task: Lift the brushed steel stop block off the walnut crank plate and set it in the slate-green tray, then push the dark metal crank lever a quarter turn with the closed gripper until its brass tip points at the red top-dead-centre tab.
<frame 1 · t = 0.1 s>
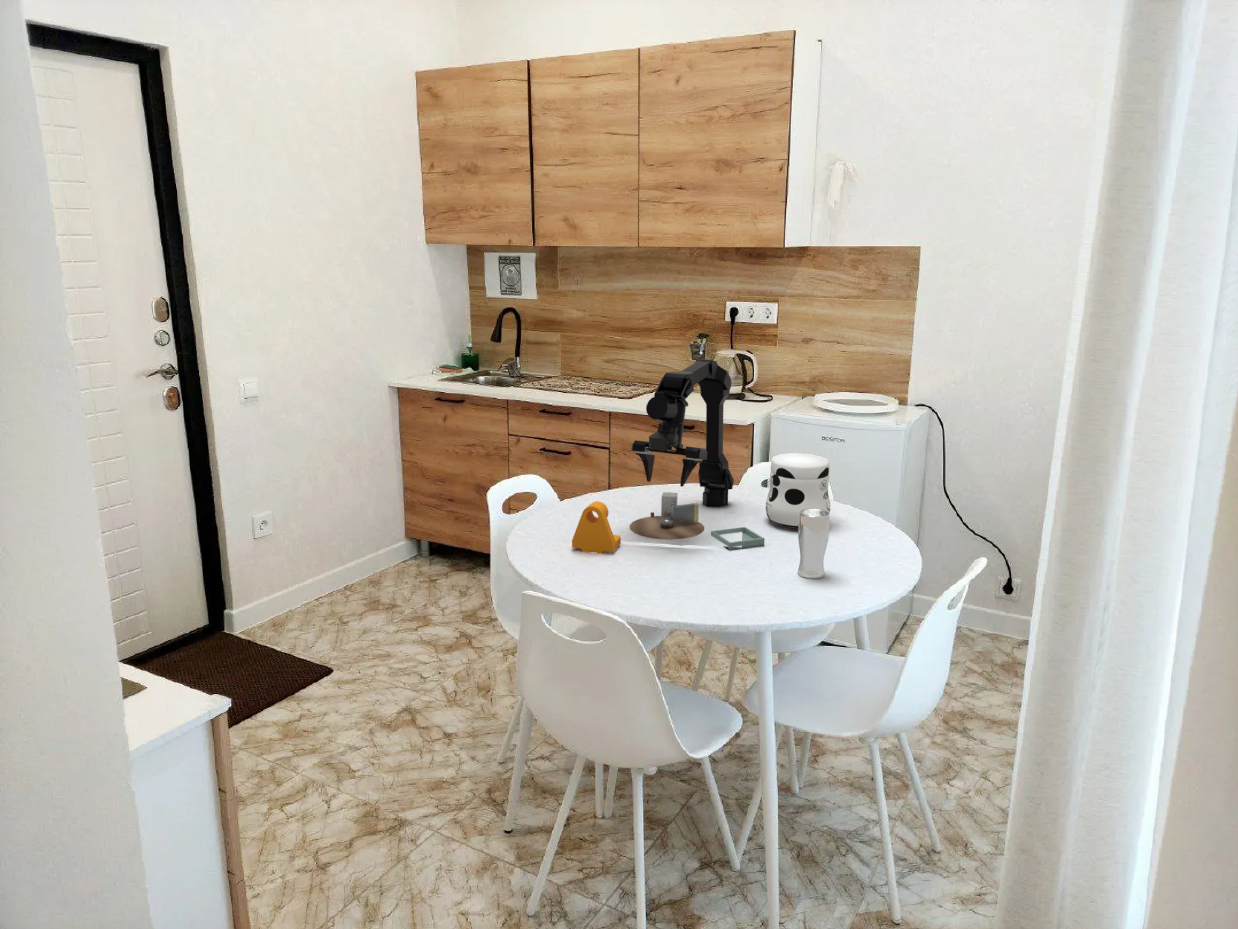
hand: (665, 484, 219), 15 cm above the table, tool pointing down, fingers open, 9 cm apart
bracket: (597, 548, 219), on the table
crank: (679, 514, 232), point 4 cm above the table, hinge at 0.0°
tray: (737, 542, 223), on the table
beer glass: (810, 575, 202), on the table
stop block: (669, 519, 239), point 1 cm above the table, touching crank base
milk container: (796, 523, 239), on the table
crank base: (666, 530, 232), on the table
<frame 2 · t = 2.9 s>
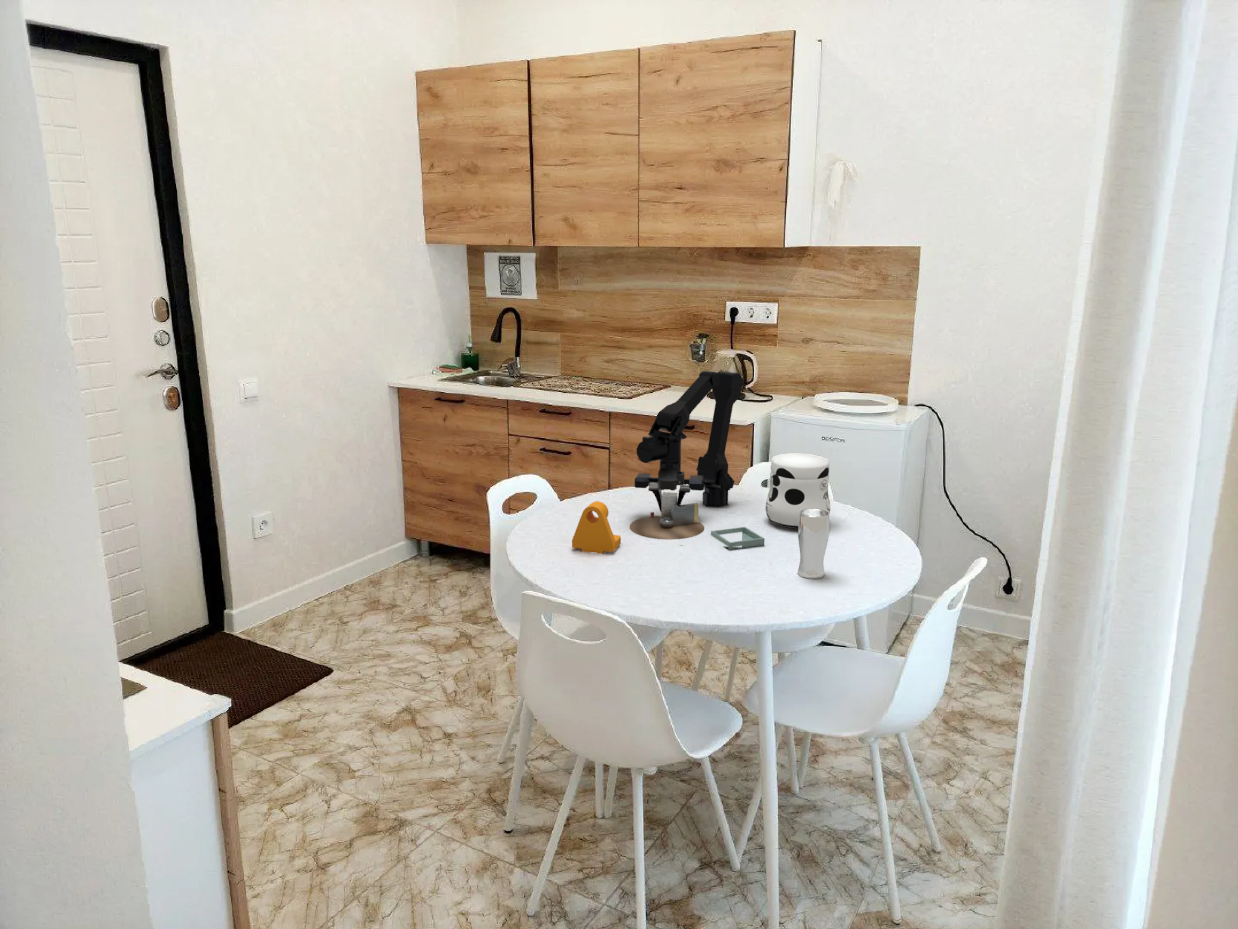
hand: (669, 512, 238), 3 cm above the table, tool pointing down, fingers closed on stop block, 4 cm apart
stop block: (669, 519, 239), point 1 cm above the table, touching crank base, gripper
everything else where it was.
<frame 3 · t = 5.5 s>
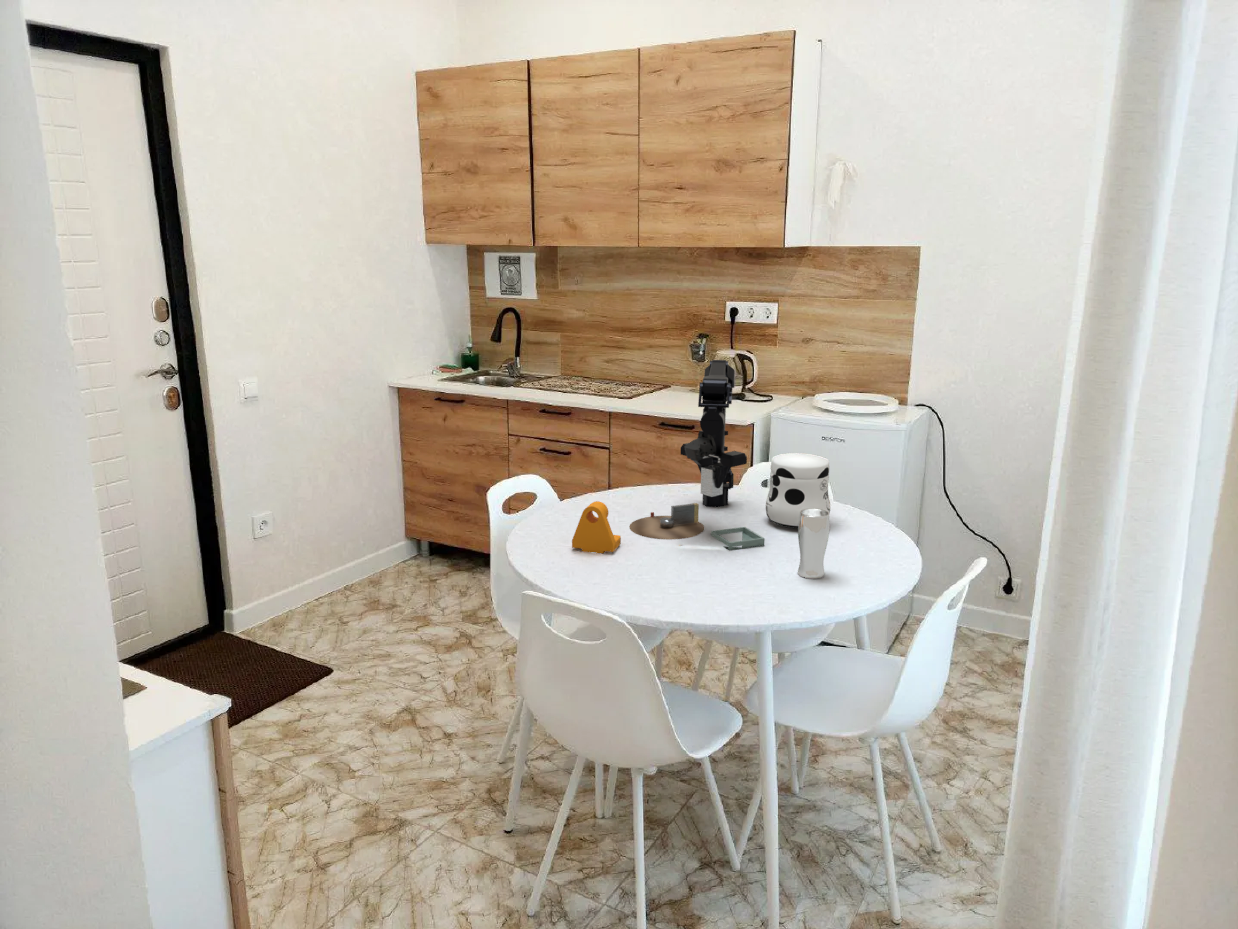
hand: (712, 486, 225), 13 cm above the table, tool pointing down, fingers closed on stop block, 4 cm apart
stop block: (711, 493, 226), point 11 cm above the table, touching gripper
everything else where it was.
when the fingers open (4 cm above the table, at t = 8.3 s): stop block drops 1 cm, resting on tray.
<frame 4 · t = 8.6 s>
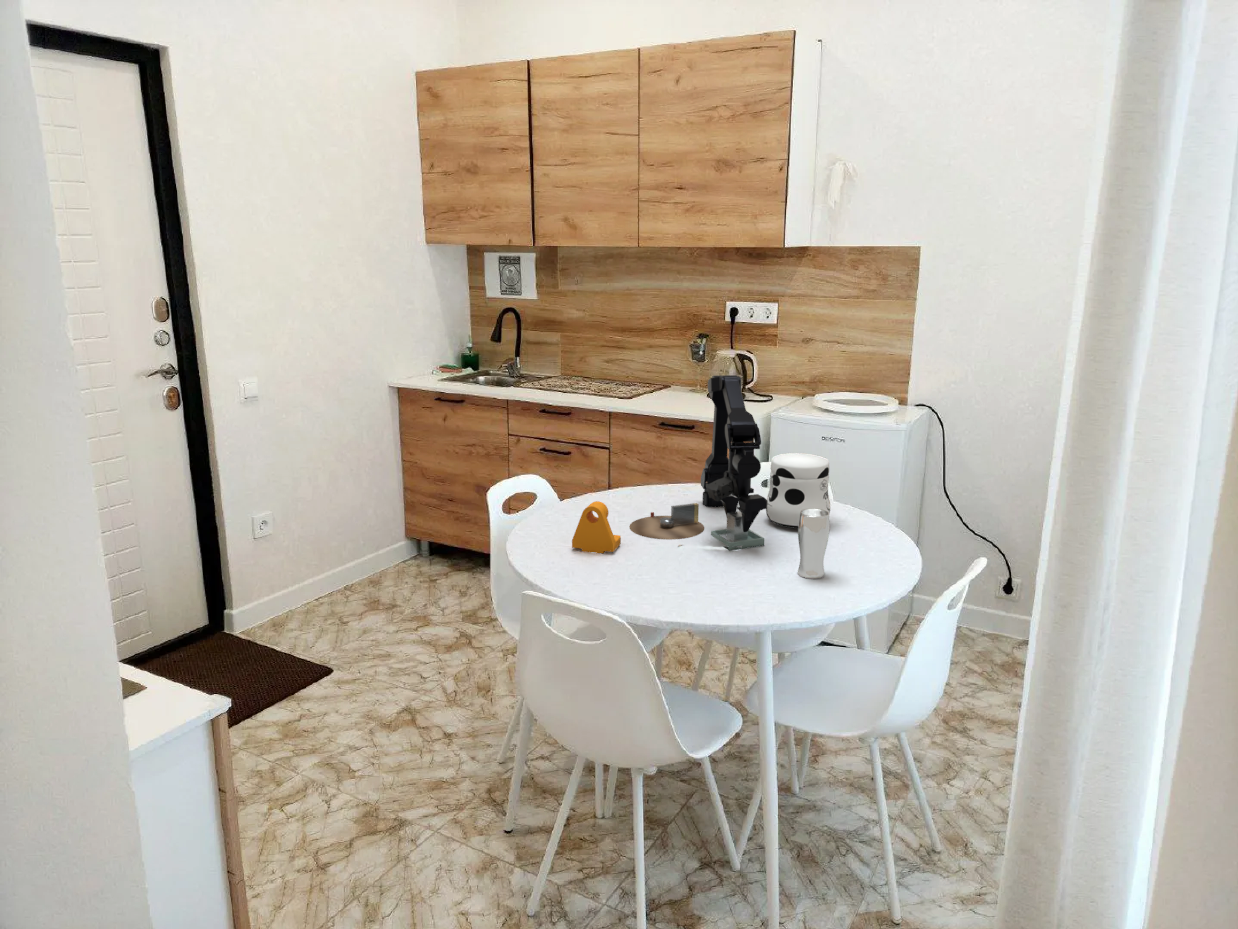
hand: (737, 527, 222), 4 cm above the table, tool pointing down, fingers open, 8 cm apart
stop block: (736, 540, 223), resting on tray
everything else where it was.
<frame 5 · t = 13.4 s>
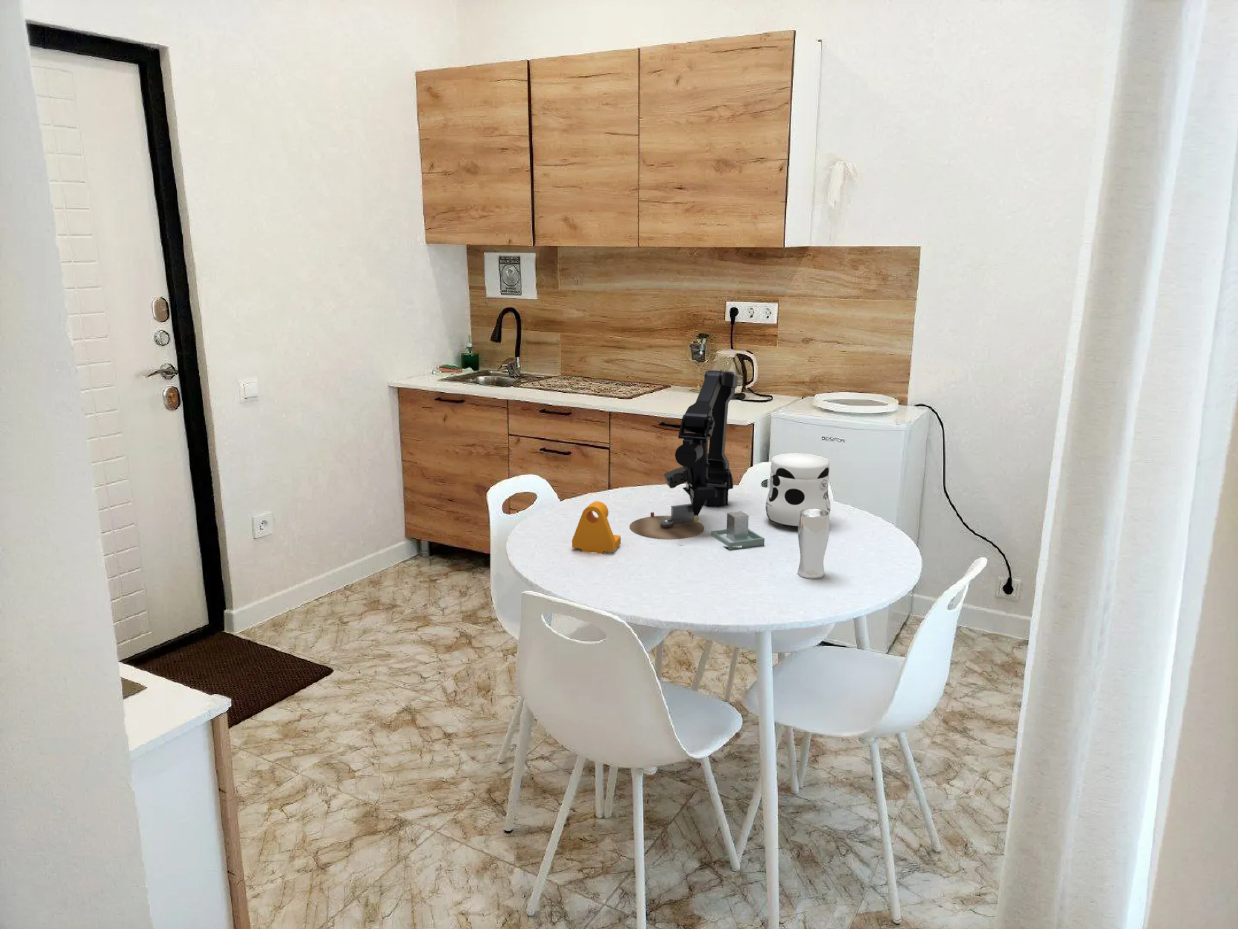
hand: (696, 515, 232), 4 cm above the table, tool pointing down, fingers closed
crank: (679, 514, 232), point 4 cm above the table, hinge at 0.7°, touching gripper
everything else where it was.
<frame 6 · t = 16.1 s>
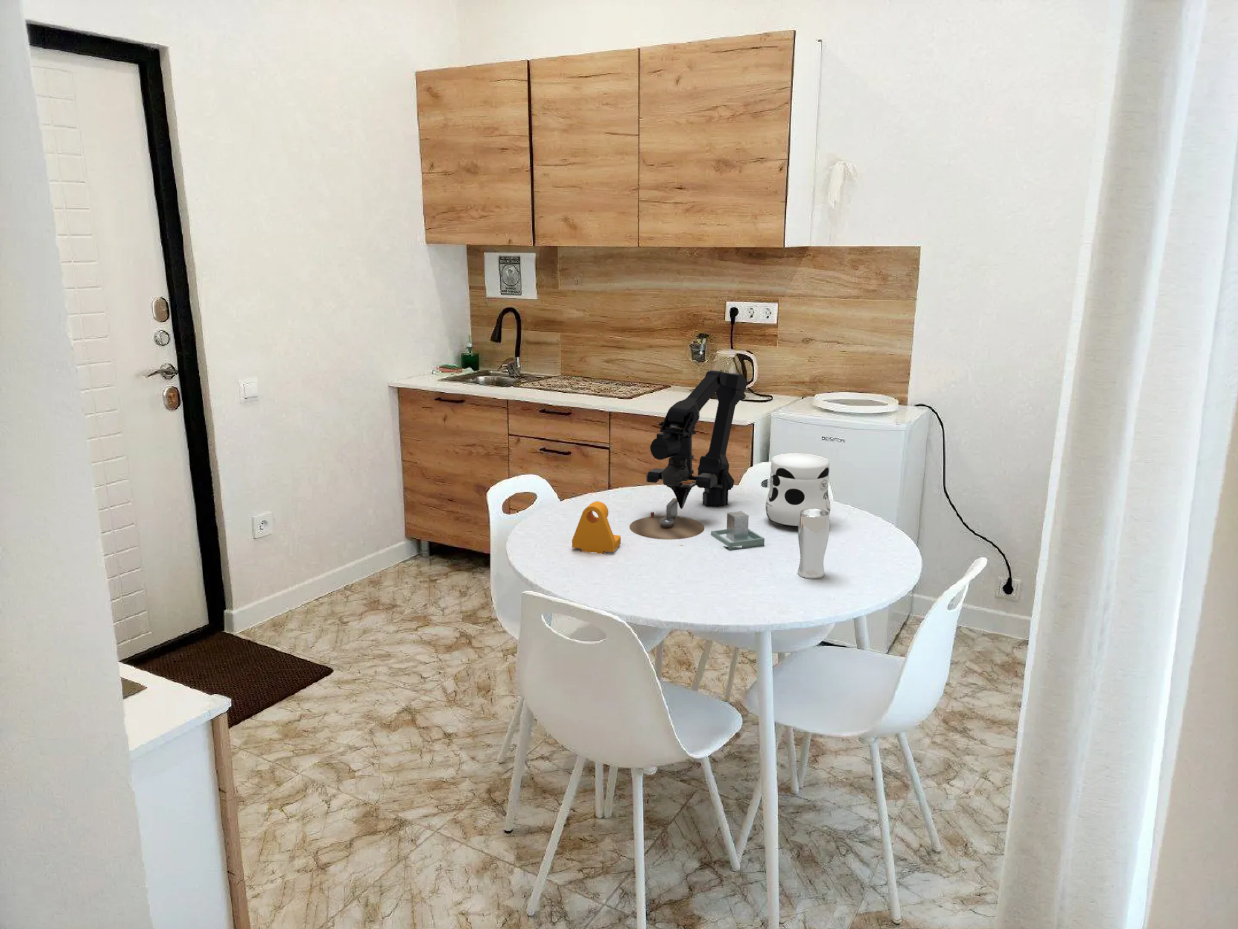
hand: (681, 508, 237), 4 cm above the table, tool pointing down, fingers closed
crank: (670, 512, 234), point 4 cm above the table, hinge at 50.5°, touching gripper
everything else where it was.
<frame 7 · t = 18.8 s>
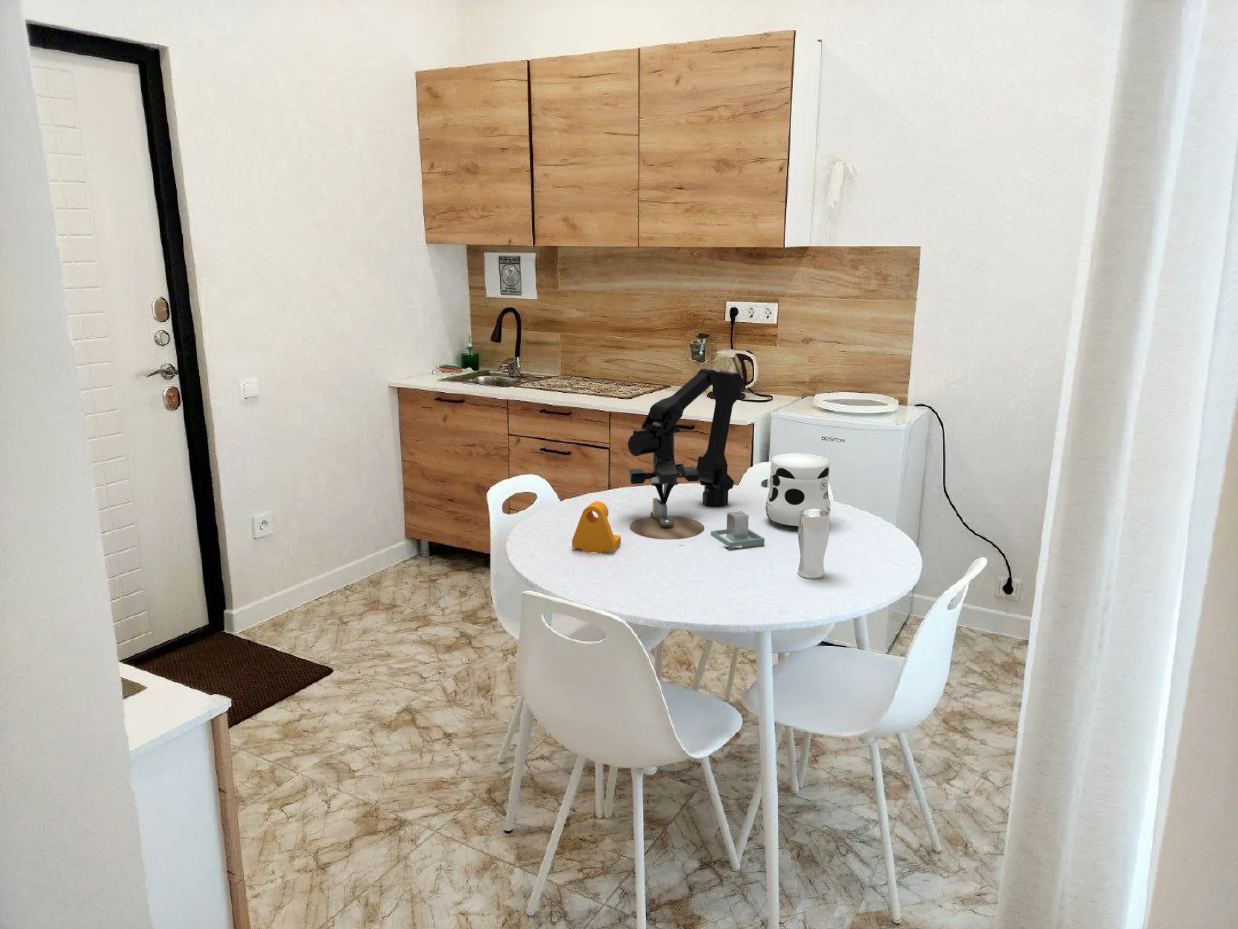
hand: (663, 505, 239), 5 cm above the table, tool pointing down, fingers closed
crank: (662, 512, 234), point 4 cm above the table, hinge at 87.5°, touching gripper
everything else where it was.
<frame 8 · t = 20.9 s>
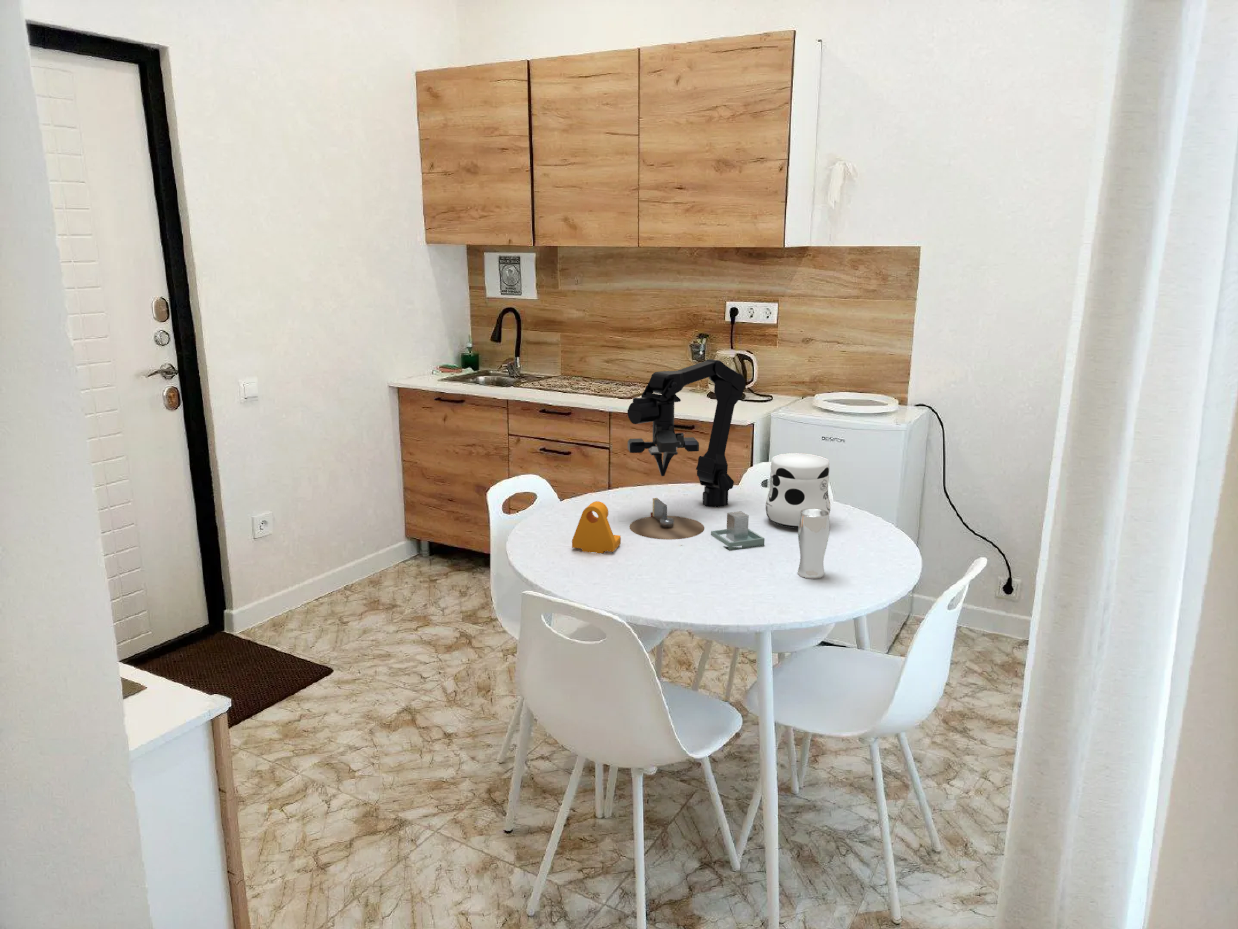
hand: (662, 475, 237), 13 cm above the table, tool pointing down, fingers closed
crank: (662, 512, 234), point 4 cm above the table, hinge at 87.5°
everything else where it was.
at the end: crank at +88° (first picture: +0°); stop block 0.1 cm off-centre on the tray, point 0.5 cm above the tray's base; stop block tilted 0° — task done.
